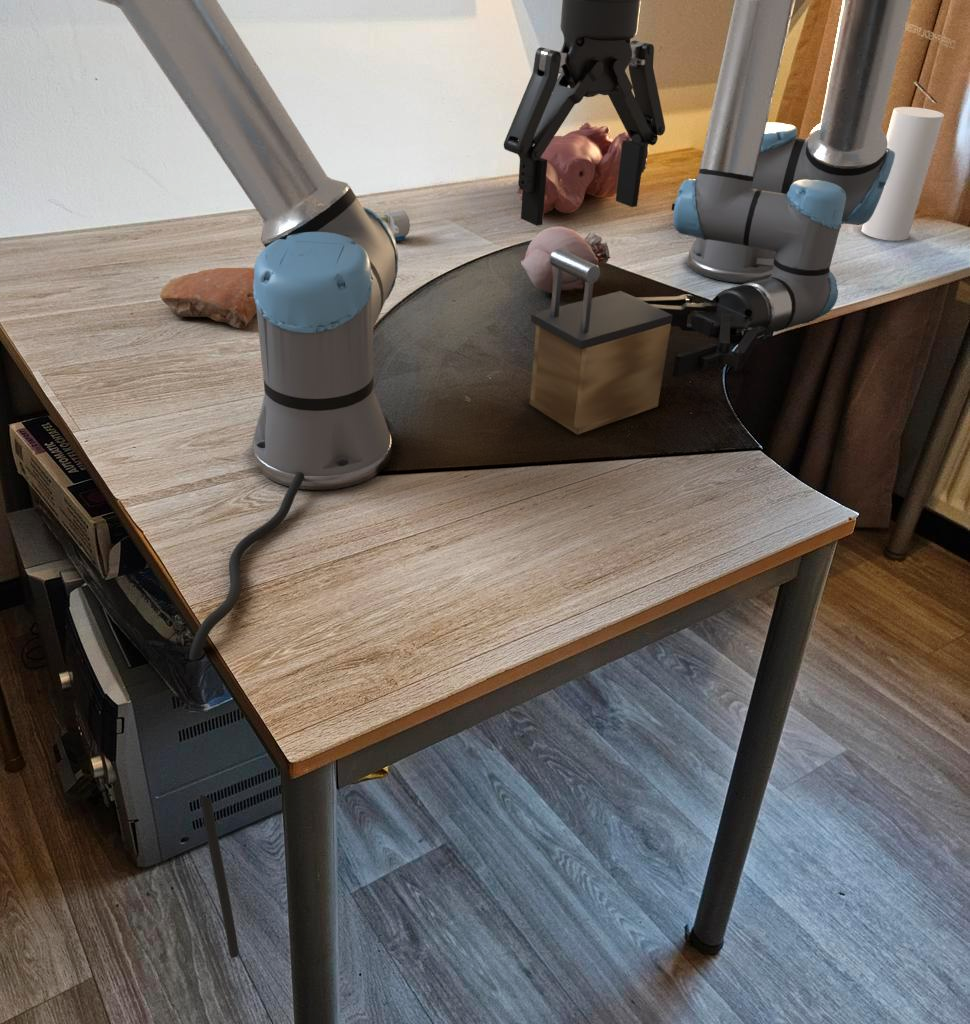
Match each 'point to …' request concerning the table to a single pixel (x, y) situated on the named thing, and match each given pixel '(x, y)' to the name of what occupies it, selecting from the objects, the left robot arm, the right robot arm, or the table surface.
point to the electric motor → (397, 223)
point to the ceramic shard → (213, 295)
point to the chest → (597, 378)
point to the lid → (594, 308)
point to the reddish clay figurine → (581, 167)
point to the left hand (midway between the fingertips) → (580, 212)
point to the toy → (568, 241)
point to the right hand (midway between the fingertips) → (636, 346)
